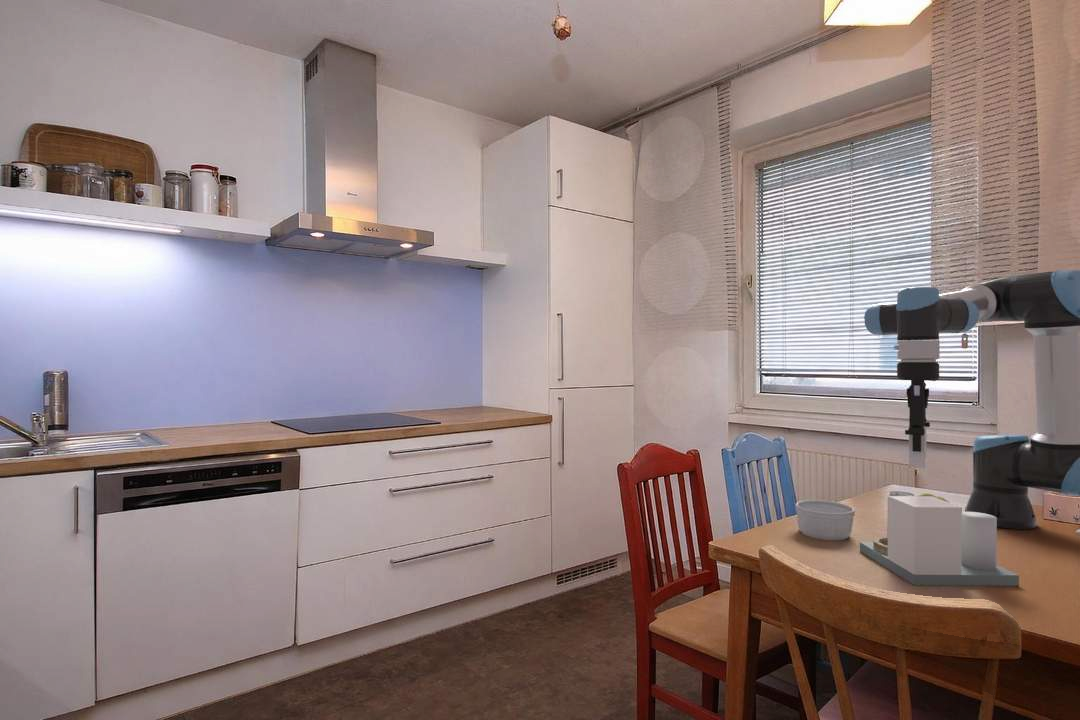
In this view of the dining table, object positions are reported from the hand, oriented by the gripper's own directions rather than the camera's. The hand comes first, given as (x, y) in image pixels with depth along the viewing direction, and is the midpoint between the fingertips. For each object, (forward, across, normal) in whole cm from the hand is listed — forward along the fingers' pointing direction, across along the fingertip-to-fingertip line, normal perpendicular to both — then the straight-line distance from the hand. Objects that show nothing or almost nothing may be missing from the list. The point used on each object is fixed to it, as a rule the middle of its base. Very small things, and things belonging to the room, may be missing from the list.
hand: (918, 462), depth 127 cm
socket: (+20, -1, -4) cm, 20 cm away
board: (+22, 0, +3) cm, 22 cm away
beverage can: (+22, -13, -4) cm, 26 cm away
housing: (+20, +8, +1) cm, 21 cm away
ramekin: (+22, -13, -20) cm, 32 cm away
